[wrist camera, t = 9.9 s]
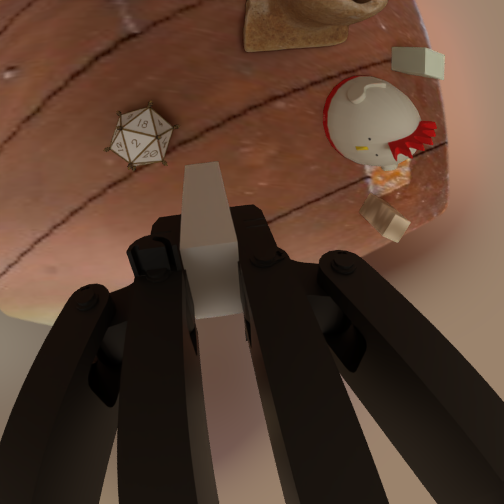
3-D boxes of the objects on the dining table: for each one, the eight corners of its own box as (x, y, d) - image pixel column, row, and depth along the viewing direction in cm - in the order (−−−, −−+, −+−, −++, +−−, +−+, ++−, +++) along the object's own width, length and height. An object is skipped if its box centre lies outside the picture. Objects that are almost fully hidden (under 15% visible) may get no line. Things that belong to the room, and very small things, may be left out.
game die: (161, 118, 37) (203, 115, 31) (143, 174, 39) (181, 183, 33) (107, 99, 30) (139, 87, 24) (87, 161, 32) (113, 165, 26)
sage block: (391, 47, 32) (425, 47, 26) (410, 52, 33) (444, 55, 26) (391, 69, 34) (424, 74, 28) (410, 74, 35) (443, 80, 28)
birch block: (370, 192, 46) (395, 214, 40) (385, 200, 48) (410, 222, 41) (358, 212, 48) (382, 235, 42) (374, 219, 49) (397, 242, 43)
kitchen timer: (305, 102, 36) (359, 119, 24) (376, 61, 33) (446, 68, 21) (347, 175, 44) (401, 220, 32) (408, 134, 41) (471, 165, 29)
